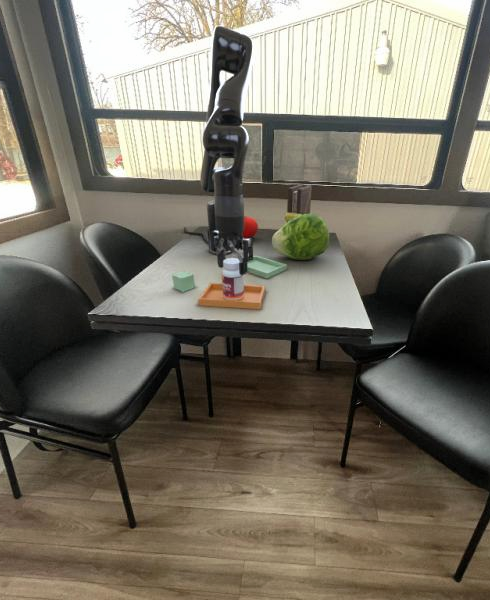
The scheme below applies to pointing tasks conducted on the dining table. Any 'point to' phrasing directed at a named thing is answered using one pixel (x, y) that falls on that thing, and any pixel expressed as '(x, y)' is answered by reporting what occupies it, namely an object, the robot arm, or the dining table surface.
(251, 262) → the sage tray
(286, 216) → the book
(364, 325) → the dining table surface
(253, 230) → the tomato
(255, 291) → the amber tray
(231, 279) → the pill bottle
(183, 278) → the sage block
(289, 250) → the lettuce
